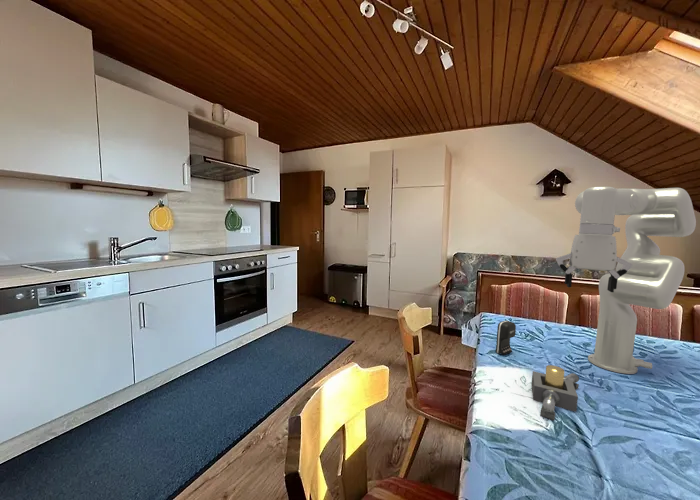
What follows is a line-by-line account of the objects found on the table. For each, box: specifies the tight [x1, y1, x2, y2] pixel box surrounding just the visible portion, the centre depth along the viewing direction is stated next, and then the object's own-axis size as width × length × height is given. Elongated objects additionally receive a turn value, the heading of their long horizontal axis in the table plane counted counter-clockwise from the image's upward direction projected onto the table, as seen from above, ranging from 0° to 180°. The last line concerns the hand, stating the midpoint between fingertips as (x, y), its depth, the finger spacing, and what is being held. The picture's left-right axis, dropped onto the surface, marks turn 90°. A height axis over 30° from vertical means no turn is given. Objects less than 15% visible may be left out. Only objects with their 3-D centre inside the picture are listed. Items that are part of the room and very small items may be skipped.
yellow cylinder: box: [545, 364, 565, 390], centre depth 79 cm, size 4×4×8 cm
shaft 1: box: [539, 389, 560, 421], centre depth 73 cm, size 7×4×4 cm, turn 141°
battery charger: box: [495, 320, 517, 356], centre depth 107 cm, size 7×4×11 cm, turn 125°
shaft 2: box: [564, 372, 580, 390], centre depth 84 cm, size 7×4×4 cm, turn 121°
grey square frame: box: [530, 371, 579, 413], centre depth 79 cm, size 9×9×4 cm
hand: (589, 289), depth 86 cm, fingers open, 9 cm apart
